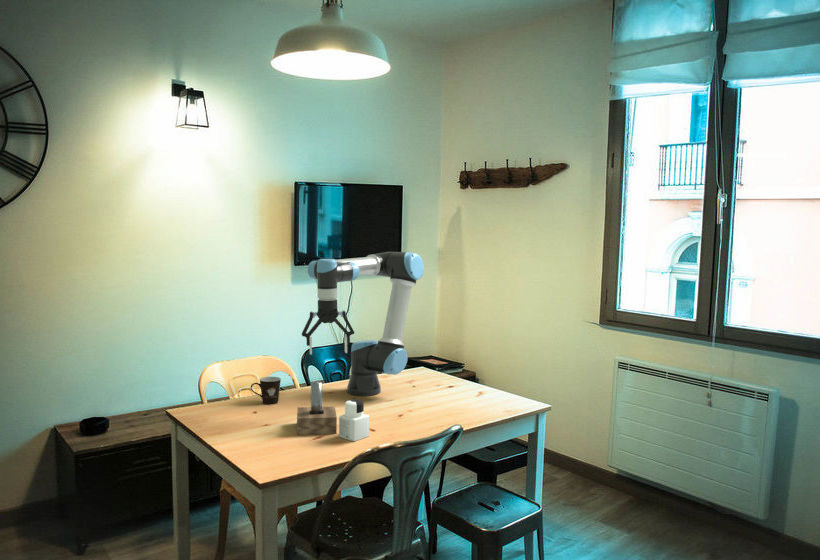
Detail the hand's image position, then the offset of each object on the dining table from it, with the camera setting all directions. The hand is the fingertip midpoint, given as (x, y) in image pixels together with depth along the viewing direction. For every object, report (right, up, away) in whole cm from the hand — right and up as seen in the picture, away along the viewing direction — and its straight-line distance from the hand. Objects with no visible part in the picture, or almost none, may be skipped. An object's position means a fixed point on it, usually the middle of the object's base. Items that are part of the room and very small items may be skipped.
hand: (328, 353), depth 248 cm
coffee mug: (-28, -23, +19) cm, 41 cm away
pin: (-3, -24, -14) cm, 28 cm away
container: (+12, -27, -22) cm, 37 cm away
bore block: (-3, -26, -14) cm, 30 cm away
